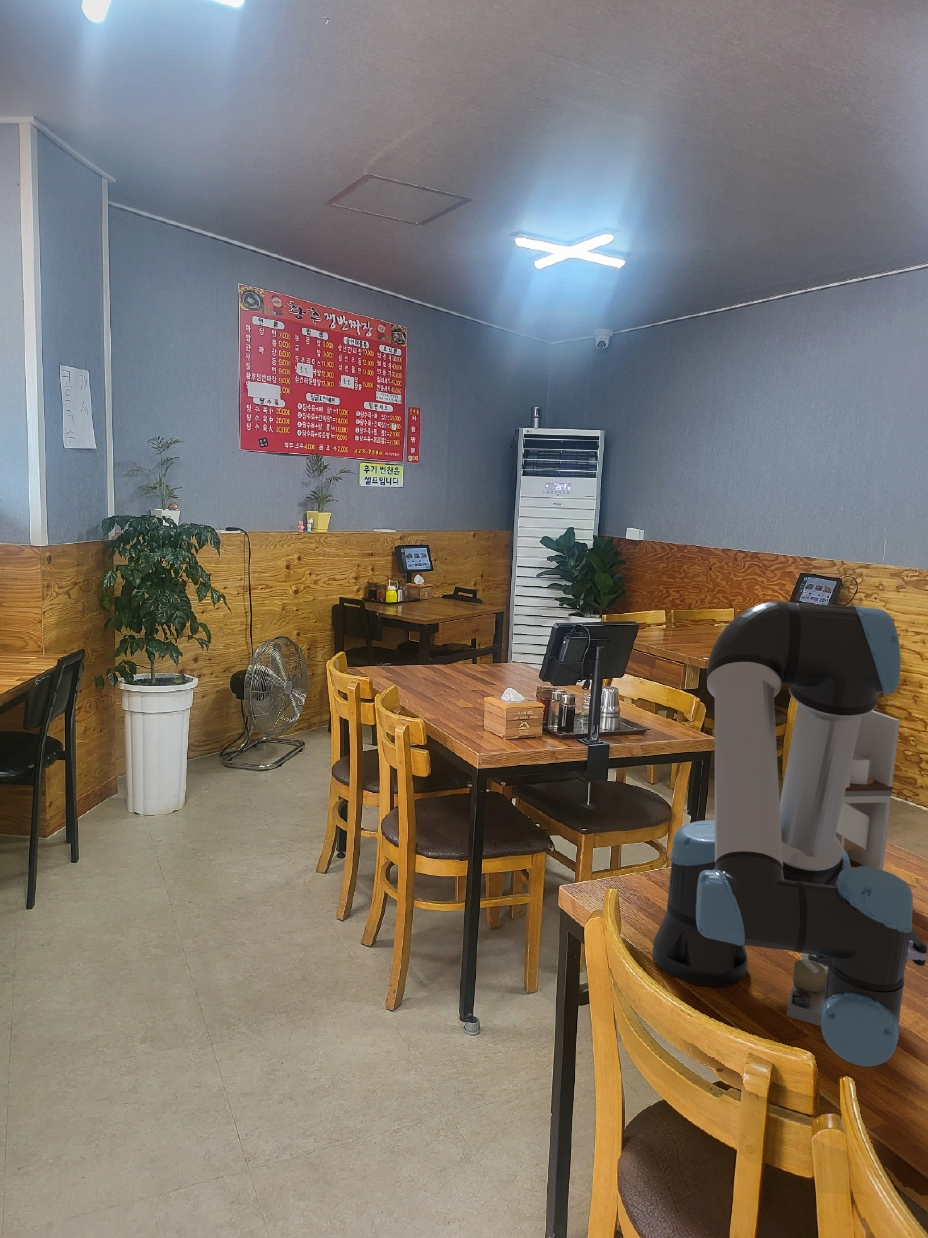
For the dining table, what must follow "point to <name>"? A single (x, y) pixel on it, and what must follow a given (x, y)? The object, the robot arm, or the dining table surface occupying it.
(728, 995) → the dining table surface
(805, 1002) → the bolted mounting base
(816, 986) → the blue and beige lever
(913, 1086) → the dining table surface
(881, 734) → the white shelving unit
